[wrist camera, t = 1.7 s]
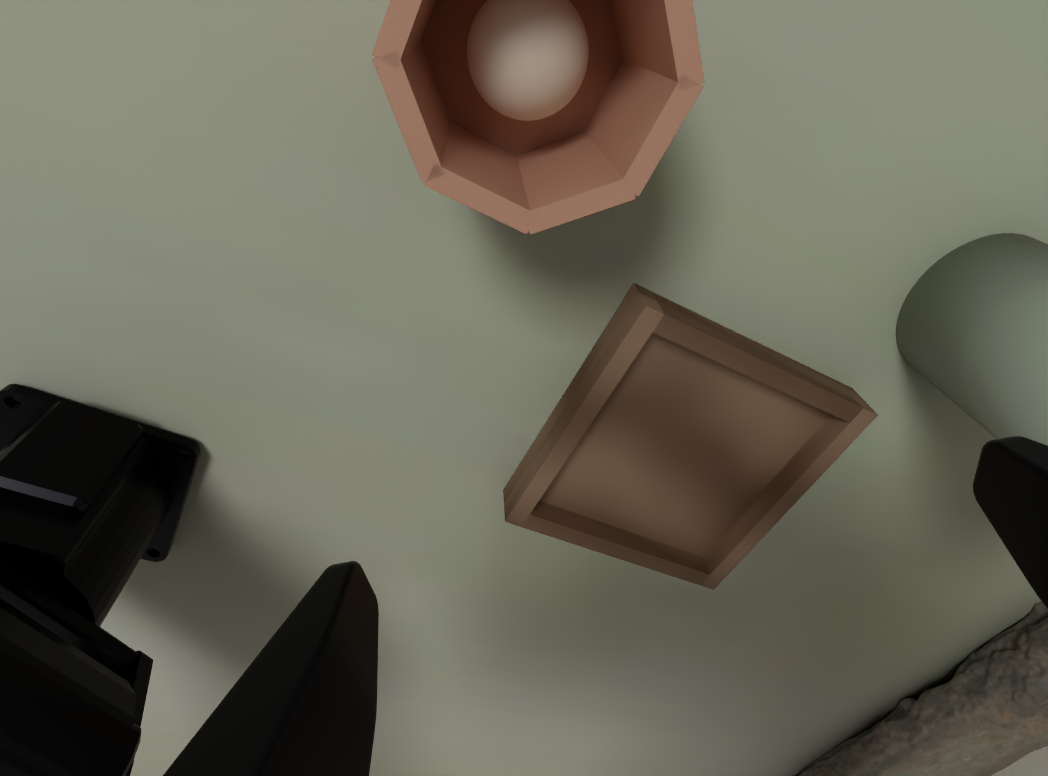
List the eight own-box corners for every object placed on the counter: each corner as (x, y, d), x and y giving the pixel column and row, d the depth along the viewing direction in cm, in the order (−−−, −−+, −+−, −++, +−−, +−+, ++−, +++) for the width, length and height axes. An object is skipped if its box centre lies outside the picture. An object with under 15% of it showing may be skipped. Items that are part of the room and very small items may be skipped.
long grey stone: (716, 774, 43) (815, 795, 46) (745, 868, 38) (851, 883, 42) (1279, 423, 26) (1363, 498, 30) (1438, 519, 22) (1513, 593, 26)
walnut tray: (701, 557, 28) (713, 589, 27) (503, 490, 26) (504, 521, 24) (852, 388, 24) (877, 415, 22) (633, 283, 21) (646, 305, 20)
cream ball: (546, 130, 18) (558, 152, 15) (449, 77, 17) (445, 92, 14) (600, 22, 17) (622, 26, 14) (497, -42, 16) (502, -48, 13)
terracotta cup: (565, 196, 19) (596, 268, 14) (379, 102, 18) (340, 145, 13) (674, -8, 17) (759, -9, 12) (467, -143, 15) (463, -214, 10)
